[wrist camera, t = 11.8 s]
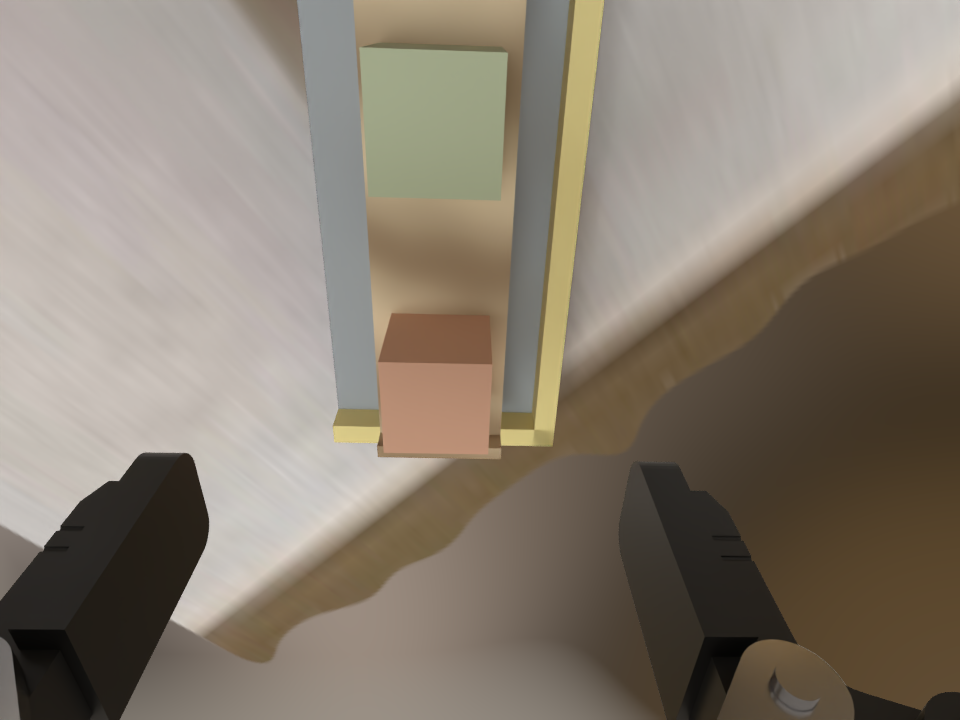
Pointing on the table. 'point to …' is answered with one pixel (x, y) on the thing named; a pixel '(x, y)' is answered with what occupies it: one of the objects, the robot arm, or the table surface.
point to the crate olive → (434, 120)
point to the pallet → (446, 222)
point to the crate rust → (436, 384)
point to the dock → (536, 223)
